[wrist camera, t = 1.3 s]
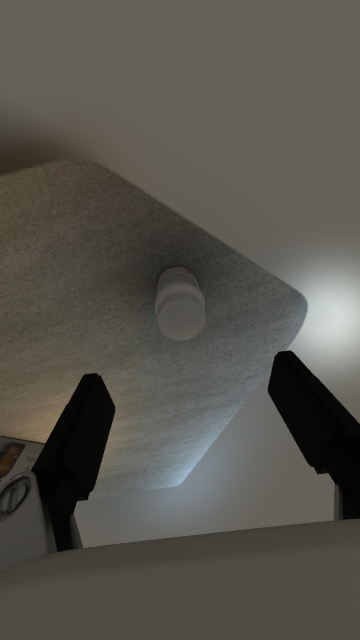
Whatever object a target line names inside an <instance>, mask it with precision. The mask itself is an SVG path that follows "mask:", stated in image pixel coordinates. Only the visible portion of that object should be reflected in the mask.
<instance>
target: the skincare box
mask: <svg viewBox="0 0 360 640" xmlns="http://www.w3.org/2000/svg"><path fill="white" fill-rule="evenodd" d="M43 447H44V444H39V443H33V442H28V441H23V440H17V439H12V438H6V437H1V436H0V487H1V486H2V485H3V484H4V483H5V482H6V481H8V480H9V479H10V478H11V477H13V476H15V475H16V474H18V473H20V472H23V471H31V469H32V467H33V466H34V464H35V462H36V460H37V458H38V456H39V454H40V453H41V451H42V449H43Z"/></svg>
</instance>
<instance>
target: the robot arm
mask: <svg viewBox="0 0 360 640" xmlns="http://www.w3.org/2000/svg"><path fill="white" fill-rule="evenodd" d="M268 393H269V395H270V397H271V399H272V401H273V402H274V404H275V406H276V408H277V409H278V411H279V413H280V415H281V416H282V418H283V420H284V422H285V424H286V425H287V427H288V429H289V431H290V433H291V434H292V436H293V438H294V440H295V441H296V443H297V445H298V447H299V449H300V450H301V452H302V453H303V456H304V458H305V459H306V461H307V462H308V464H309V465H310V466H311V467H314V469H315V471H316V472H317V474H324V473H329V475H330V476H331V478H332V480H333V481H334V483H335V493H334V521H324V522H313V523H304V524H293V525H284V526H274V527H265V528H255V529H247V530H237V531H228V532H219V533H210V534H201V535H192V536H183V537H173V538H164V539H156V540H147V541H138V542H130V543H121V544H113V545H104V546H97V547H89V548H83V545H82V541H81V538H80V534H79V531H78V527H77V524H76V520H75V516H74V509H75V506H76V503H77V501H83V500H88V497H89V493H90V492H91V491H92V490H93V489H94V487H95V483H96V480H97V476H98V472H99V469H100V465H101V462H102V458H103V454H104V451H105V447H106V443H107V440H108V436H109V432H110V429H111V425H112V421H113V418H114V414H115V405H114V403H113V401H112V399H111V397H110V394H109V392H108V390H107V388H106V386H105V384H104V382H103V379H102V377H101V376H100V375H99V376H98V374H97V373H92V374H85V375H83V377H82V379H81V381H80V382H79V384H78V386H77V388H76V390H75V392H74V394H73V395H72V397H71V399H70V401H69V403H68V404H67V405H66V407H65V408H64V410H63V412H62V414H61V416H60V418H59V419H58V421H57V423H56V425H55V427H54V429H53V431H52V432H51V434H50V436H49V438H48V440H47V442H46V443H45V445H44V447H43V449H42V451H41V453H40V454H39V456H38V458H37V460H36V462H35V464H34V466H33V467H32V469H31V471H23V472H20V473H18V474H16V475H15V476H13V477H11V478H10V479H9V480H8V481H6V482H5V483H4V484H3V485H2V486H1V487H0V640H360V424H359V423H358V422H357V420H356V419H355V418H354V417H353V416H352V415H351V414H350V413H349V412H348V411H347V410H346V408H345V407H344V406H343V405H342V404H341V403H340V402H339V401H338V400H337V399H336V398H335V397H334V395H333V394H332V393H331V392H330V391H329V390H328V389H327V388H326V387H325V386H324V384H322V382H321V381H320V380H319V379H318V378H317V377H316V376H314V375H313V374H312V372H311V371H310V370H309V369H308V368H307V367H306V366H305V365H304V364H303V363H302V362H301V360H300V359H299V358H298V357H297V356H296V355H295V354H294V353H293V352H292V351H281V352H278V354H277V355H275V357H274V362H273V366H272V371H271V376H270V380H269V385H268Z"/></svg>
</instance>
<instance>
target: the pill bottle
mask: <svg viewBox="0 0 360 640" xmlns="http://www.w3.org/2000/svg"><path fill="white" fill-rule="evenodd" d="M154 307H155V313H156V316H157V323H158V327H159V329H160V331H161V332H162V333H163V334H164V335H165V336H166V337H168V338H170V339H173V340H178V341H183V340H188V339H191V338H193V337H195V336H196V335H198V334H199V333H200V332H201V331H202V329H203V327H204V325H205V321H206V316H205V312H204V311H205V300H204V297H203V295H202V292H201V290H200V287H199V285H198V283H197V280H196V278H195V276H194V274H193V273H192V272H191V271H190V270H188V269H187V268H184V267H181V266H175V267H171V268H168V269H166V270H165V271H164V272H163V273H162V274H161V275H160V277H159V280H158V284H157V291H156V298H155V305H154Z"/></svg>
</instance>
